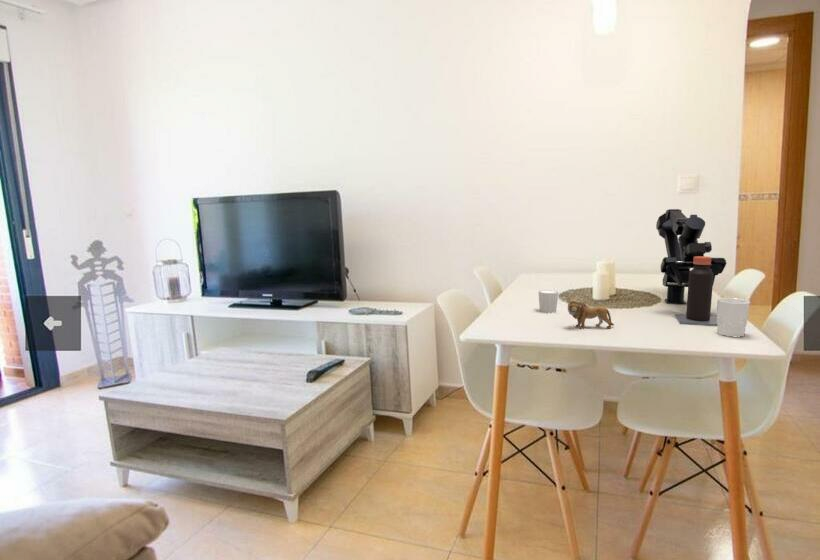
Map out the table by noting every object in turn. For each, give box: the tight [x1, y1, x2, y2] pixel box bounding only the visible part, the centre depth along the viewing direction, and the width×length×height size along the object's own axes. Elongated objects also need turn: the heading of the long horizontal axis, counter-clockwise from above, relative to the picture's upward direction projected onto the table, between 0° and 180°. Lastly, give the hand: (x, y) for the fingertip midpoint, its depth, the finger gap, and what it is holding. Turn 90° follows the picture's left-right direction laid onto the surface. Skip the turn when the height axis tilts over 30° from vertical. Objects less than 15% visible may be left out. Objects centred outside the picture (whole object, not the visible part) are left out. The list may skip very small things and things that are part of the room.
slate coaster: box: [674, 313, 718, 327], centre depth 163 cm, size 12×12×1 cm
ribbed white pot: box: [537, 289, 559, 314], centre depth 181 cm, size 7×7×7 cm
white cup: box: [716, 297, 751, 337], centre depth 146 cm, size 8×8×10 cm
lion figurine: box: [567, 299, 615, 330], centre depth 157 cm, size 15×5×9 cm, turn 92°
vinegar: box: [685, 255, 714, 321], centre depth 162 cm, size 7×7×20 cm
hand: (696, 286), depth 166 cm, fingers open, 9 cm apart
